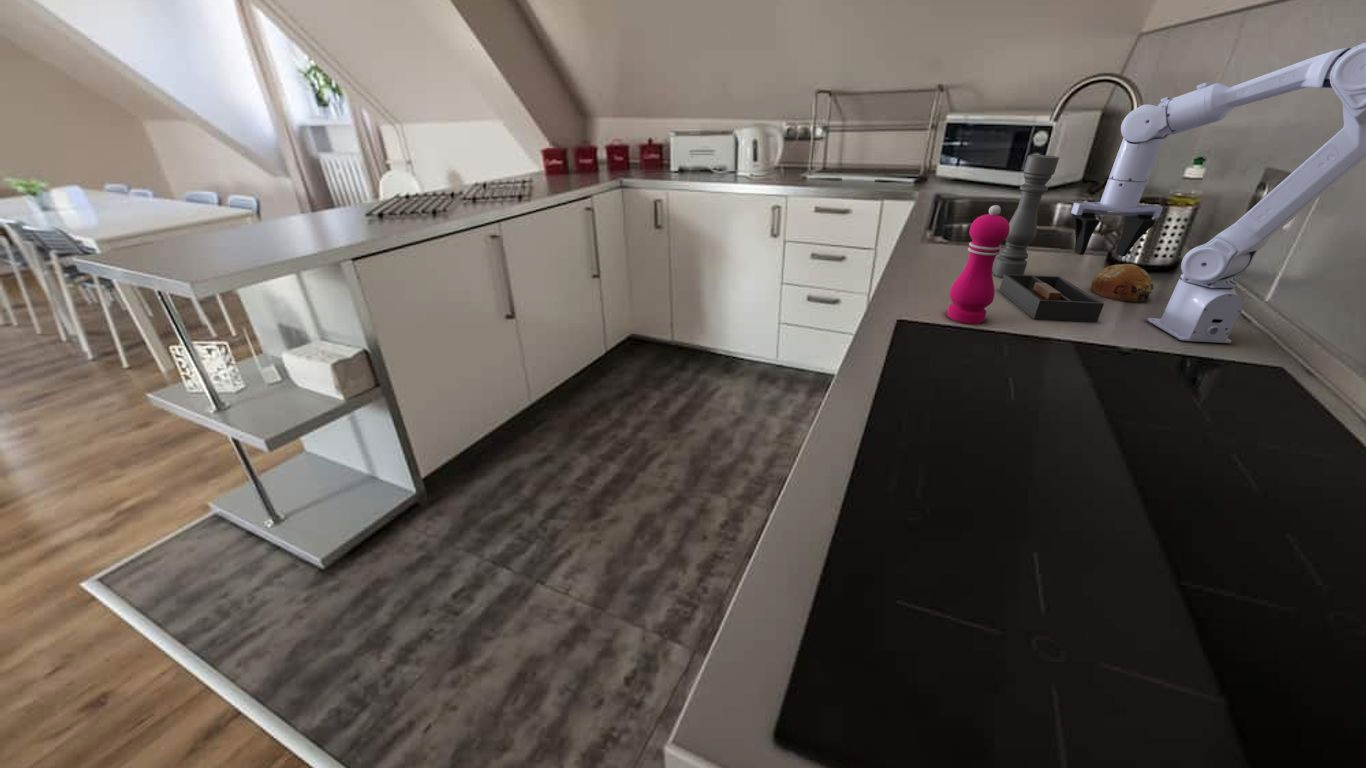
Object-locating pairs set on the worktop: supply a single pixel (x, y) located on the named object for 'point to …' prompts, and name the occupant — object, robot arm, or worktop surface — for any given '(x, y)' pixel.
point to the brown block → (1046, 292)
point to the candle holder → (1025, 215)
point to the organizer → (1067, 308)
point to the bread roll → (1123, 283)
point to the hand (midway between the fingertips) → (1099, 254)
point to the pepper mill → (978, 269)
